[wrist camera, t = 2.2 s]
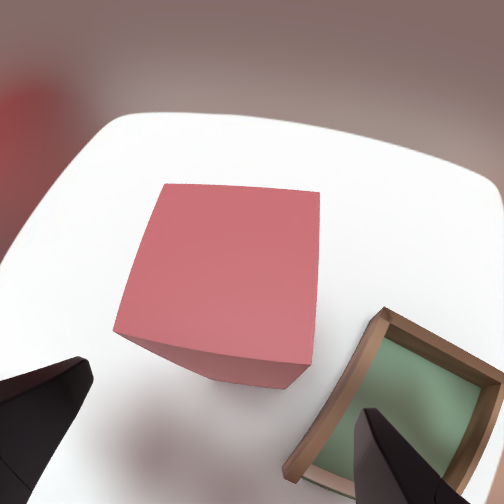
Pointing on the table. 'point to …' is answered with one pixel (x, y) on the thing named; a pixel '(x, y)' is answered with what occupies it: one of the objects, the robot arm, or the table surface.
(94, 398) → the table surface
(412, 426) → the box
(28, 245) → the table surface
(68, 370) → the robot arm
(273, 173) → the table surface
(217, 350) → the post
